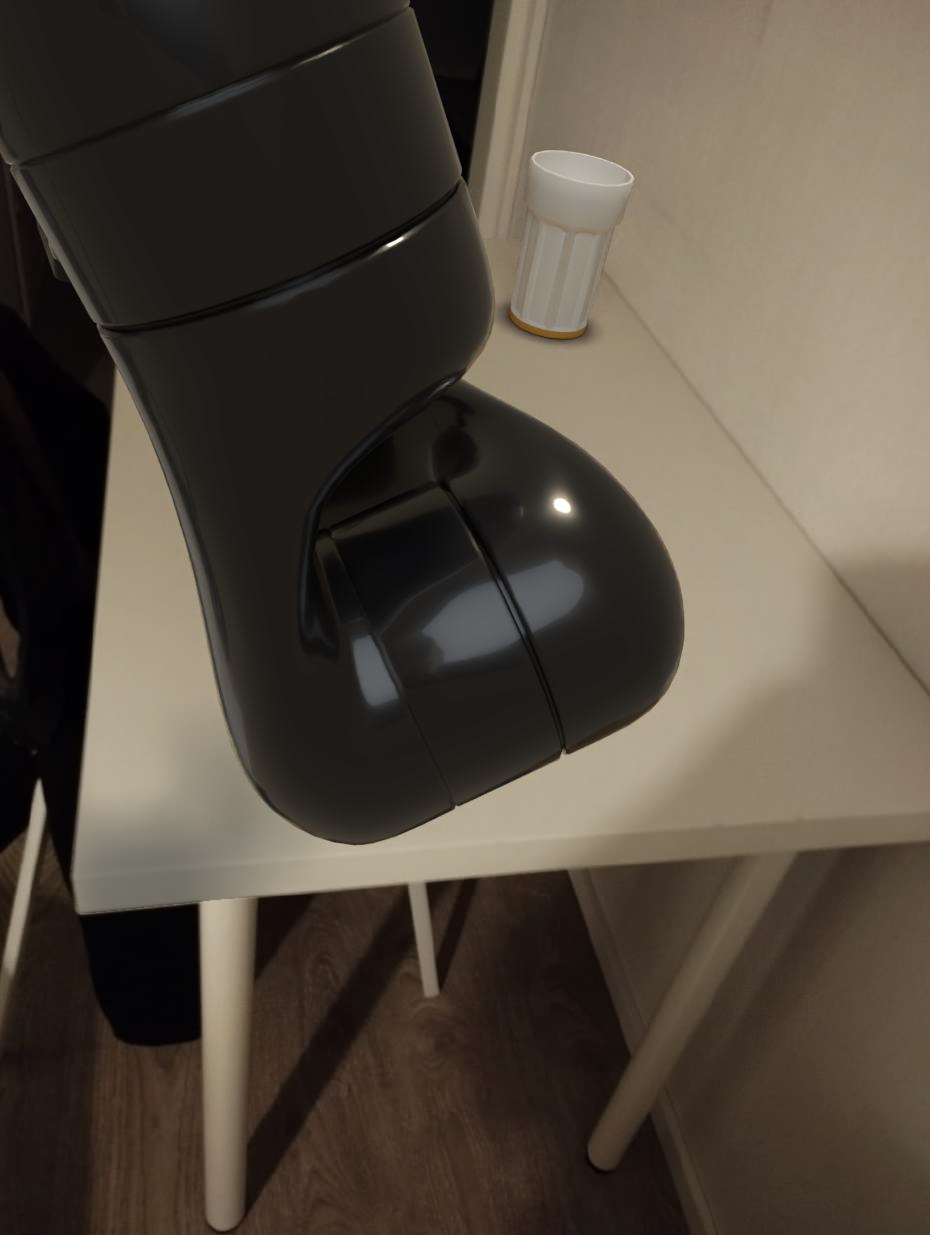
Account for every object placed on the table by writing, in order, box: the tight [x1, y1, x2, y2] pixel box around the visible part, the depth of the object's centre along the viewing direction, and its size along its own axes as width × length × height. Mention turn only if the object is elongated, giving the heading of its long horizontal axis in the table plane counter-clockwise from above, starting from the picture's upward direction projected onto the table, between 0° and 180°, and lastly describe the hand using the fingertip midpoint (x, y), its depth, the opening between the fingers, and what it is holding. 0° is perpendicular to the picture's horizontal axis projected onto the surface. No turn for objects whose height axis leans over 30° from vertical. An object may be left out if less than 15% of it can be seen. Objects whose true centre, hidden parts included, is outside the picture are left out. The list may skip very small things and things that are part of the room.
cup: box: [508, 149, 636, 340], centre depth 110 cm, size 11×11×17 cm
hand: (197, 163), depth 45 cm, fingers open, 8 cm apart
